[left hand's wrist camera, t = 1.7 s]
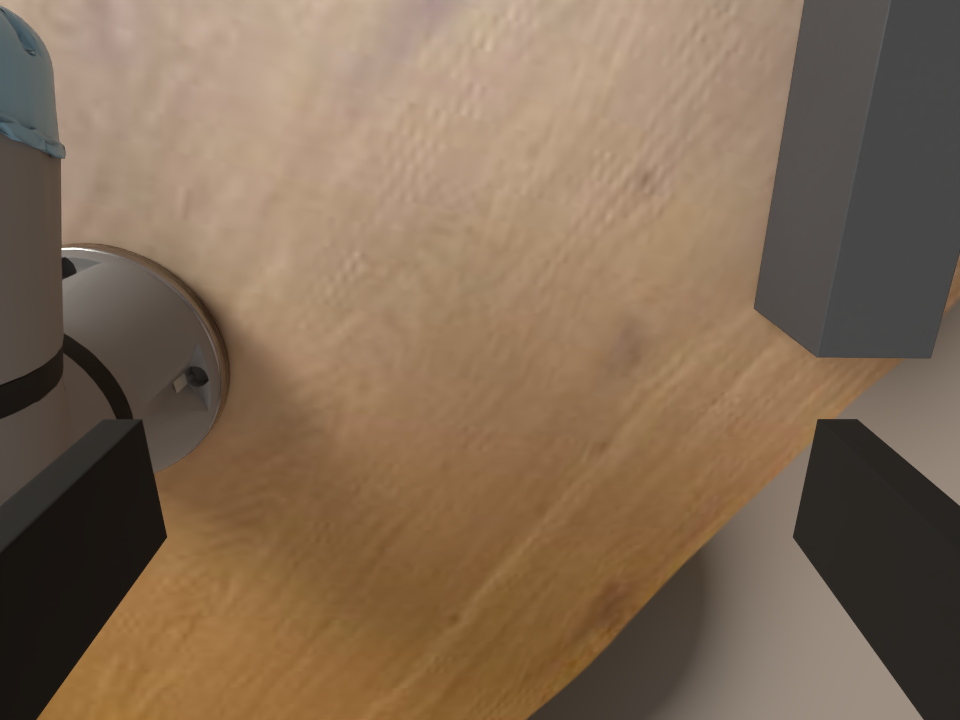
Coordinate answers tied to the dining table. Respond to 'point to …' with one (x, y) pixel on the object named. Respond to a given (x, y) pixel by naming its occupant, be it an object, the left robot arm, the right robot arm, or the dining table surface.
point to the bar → (867, 180)
